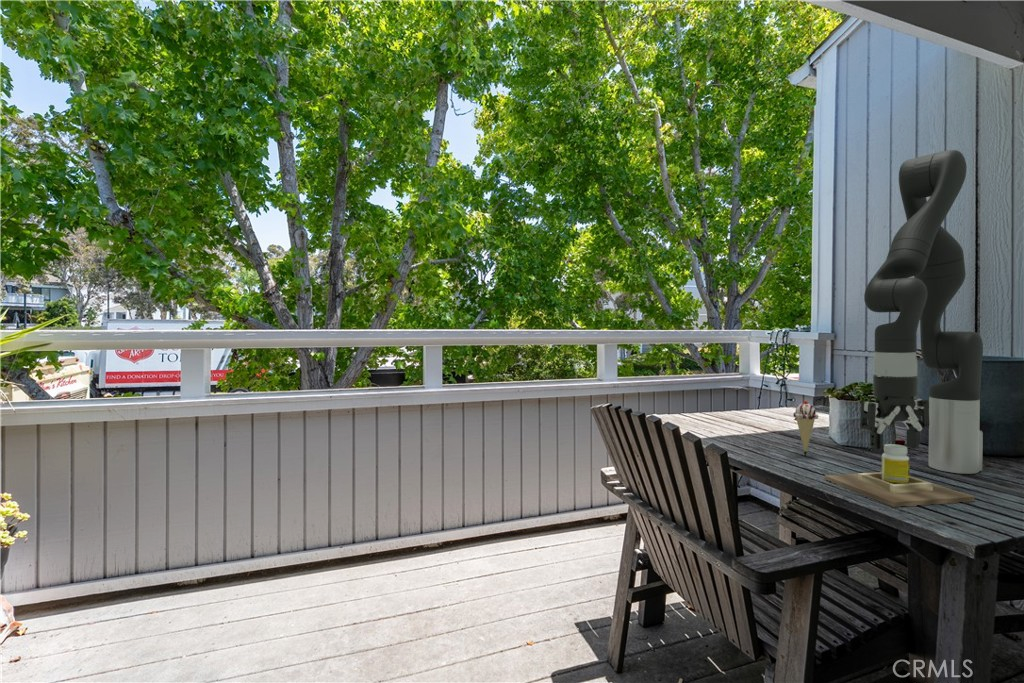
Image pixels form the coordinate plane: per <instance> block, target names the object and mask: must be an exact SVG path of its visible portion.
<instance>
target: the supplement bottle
mask: <svg viewBox="0 0 1024 683" xmlns="http://www.w3.org/2000/svg"><path fill="white" fill-rule="evenodd" d="M881 472H882V475H881V476H882V480H883V481H886V482H889V483H892V484H907V483H909V476H910V457H909V456H908V446H907V445H906V446H905V445H901V444H895V443H893V444H892V443H886V444H883V453H882V454H881Z"/></svg>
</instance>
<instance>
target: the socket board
mask: <svg viewBox="0 0 1024 683" xmlns="http://www.w3.org/2000/svg"><path fill="white" fill-rule="evenodd" d="M881 475H882V471H878V472H876V471H875V472H864V473H863V472H862V473H860V472H859V473H858V472H857V473H846V474H844V473H841V474H828V475H827V474H825V475H824V480H825V479H826V480H829V481H831V482H833V483H832V484H834V483H836V484H838V485H837V486H839V485H840V487H841V486H842V487H841V488H844V487H845V488H844V489H846V488H847V490H849V489H850V490H849V491H851V490H852V492H854V491H855V493H857V494H859V495H861V496H865V497H867V498H870V499H871V500H875V501H877V502H880V503H881V504H885V505H887V506H889V505H890V506H889V507H892V508H902V507H901V506H907V507H918V506H917V505H921V506H932V505H931V504H935V505H946V504H948V503H949V504H960V503H959V502H963V503H973V501H976V500H975V499H976V498H975V496H974V495H971V494H967V493H965V492H961V491H958V490H955V489H951V488H948V487H946V486H942V485H939V484H936V483H932V482H930V481H927V480H924V479H920V478H917V477H913V476H910V475H909V483H907V484H892V483H889V482H886V481H883V480H882V476H881ZM826 480H825V481H826ZM829 481H828V482H829ZM831 482H830V483H831ZM836 484H835V485H836ZM971 501H972V502H971Z"/></svg>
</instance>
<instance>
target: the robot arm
mask: <svg viewBox="0 0 1024 683" xmlns="http://www.w3.org/2000/svg"><path fill="white" fill-rule="evenodd" d="M967 167H968V166H967V162H966V158H965V156H964V154H963V153H962V152H961V151H960V150H957V149H951V150H950V149H949V150H943V151H938V152H935V153H931V154H927V155H921V156H919V157H918V156H917V157H912V158H910V159H907V160H905V161H903V162H902V163H901V165H900V166H899V170H898V187H899V191H900V192H899V193H900V197H901V201H902V205H903V209H904V214H905V218H906V222H905V223H903V225H902V226H901V227H899V229H898V230H897V232H896V233H895V234H894V236H893V239H892V241H891V243H890V247H889V250H888V252H887V255H886V260H884V262H883V263H882V265H880V267H879V268H878V270H877V271H876V273H875V274H874V275H873V276H872V278H871V279H870V280H869V282H868V284H867V286H866V287H865V291H864V294H863V297H864V298H863V300H864V301H863V302H864V304H865V306H866V308H868V310H870V312H871V311H872V312H874V313H899V314H898V317H897V318H896V319H895V321H893V322H888V323H884V324H883V323H882V324H880V325H877V326H875V329H874V354H873V361H872V362H873V363H872V370H873V371H872V373H873V374H872V377H873V378H872V392H873V395H875V400H874V402H872V401H865V400H864V401H862V402H861V406H860V409H861V410H860V422H859V424H860V425H859V427H860V429H862V430H864V431H867V432H869V446H870V448H871V450H873V451H877V452H884V434H883V431H884V430H885V429H886V427H888V426H889V425H891V423H896V422H899V421H900V422H902V423H903V424H904V426H905V427H906V428H907V429H906V447H907V448H910V449H919V447H920V444H921V432H922V430H923V429H924V428H925V429H926V428H928V467H929V468H932V469H934V470H938V471H942V472H947V473H954V474H962V475H963V474H964V475H966V474H967V475H968V474H969V475H972V474H978V473H979V472H982V471H983V443H984V442H983V437H984V436H983V434H984V433H983V431H982V430H980V424H981V423H980V421H981V420H980V419H981V417H980V415H981V414H980V413H981V412H980V410H981V409H980V408H981V406H980V405H981V404H980V403H981V402H980V401H981V400H980V399H981V398H980V397H981V385H982V384H981V383H982V366H983V357H984V356H983V355H984V342H983V339H982V337H981V335H980V334H979V333H978V332H975V331H957V330H956V331H950V330H949V331H942V329H941V321H942V316H943V314H944V313H945V311H946V308H947V307H948V305H949V304H950V303H951V301H952V300H953V298H954V297H955V296H956V295H957V293H958V291H959V290H960V289H961V287H962V285H963V284H964V282H965V279H966V264H965V257H964V256H965V254H964V250H963V247H962V245H961V244H960V243H959V242H958V241H957V239H956V238H955V237H954V236H952V235H951V234H950V232H948V231H947V230H946V229H945V228H944V227H943V226H942V225H943V224H942V223H944V220H945V219H946V217H947V216H948V214H949V212H950V211H951V208H952V207H953V205H954V203H955V200H957V197H958V195H959V194H960V192H961V189H962V187H963V186H964V183H965V180H966V177H967ZM927 198H928V199H927ZM918 328H919V330H920V331H919V332H920V335H919V336H920V337H919V338H920V351H921V352H920V353H921V357H922V361H923V363H924V365H925V366H926V367H927V368H929V369H935V370H953V371H959V372H958V376H957V377H955V378H952V379H951V380H948V381H943V382H940V383H938V382H937V383H933V384H932V385H930V387H929V389H928V390H929V391H928V396H929V397H928V400H927V399H922V398H918V397H917V396H918V380H919V379H918V377H919V376H918V372H919V371H918V366H919V365H918V357H917V331H918ZM915 397H917V398H915Z"/></svg>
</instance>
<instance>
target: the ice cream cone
mask: <svg viewBox="0 0 1024 683" xmlns="http://www.w3.org/2000/svg"><path fill="white" fill-rule="evenodd" d="M796 405H797V404H796ZM793 417H794V418H796V422H797V427H798V430H799V431H798V432H799V435H800V440H801V443H802V448H803V453H804V457H805V456H807V453H808V449H809V445H810V440H811V438H812V437H811V436H812V432H813V428H814V424H815V420H817V419H819V414H817V413H816V408H815V407H814V406H813V405H812V404H810V403H809V402H808V401H807V400H804V401H803V402H802V403H800V404H798V405H797V406H796V408H795V412H793Z"/></svg>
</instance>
